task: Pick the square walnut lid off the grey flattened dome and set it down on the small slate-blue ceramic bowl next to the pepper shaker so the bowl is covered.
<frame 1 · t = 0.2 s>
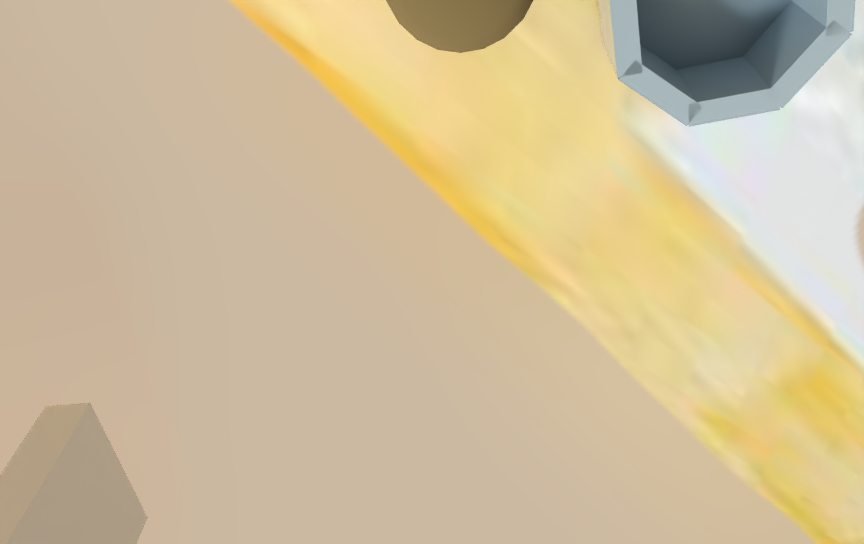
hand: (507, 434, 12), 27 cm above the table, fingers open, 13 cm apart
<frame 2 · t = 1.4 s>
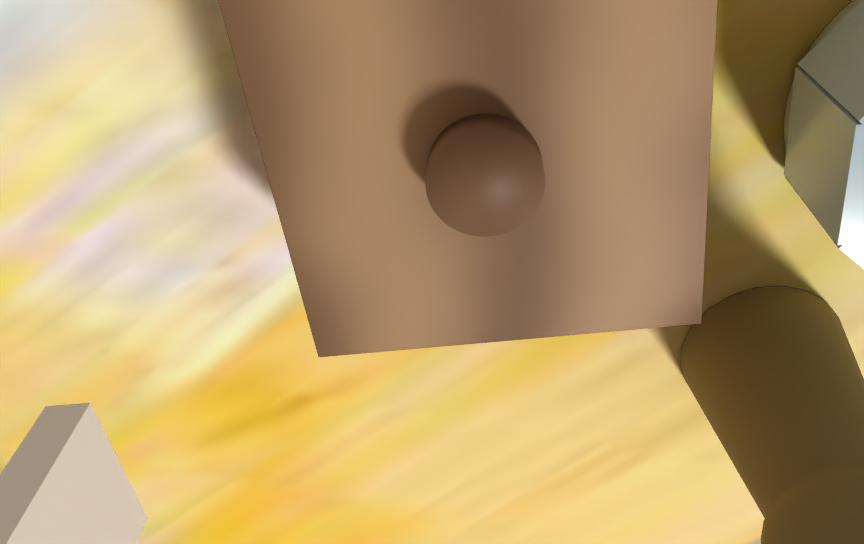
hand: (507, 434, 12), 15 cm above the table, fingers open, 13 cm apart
pepper shaker: (758, 347, 31), on the table
lid: (483, 130, 23), point 3 cm above the table, touching grey flattened dome
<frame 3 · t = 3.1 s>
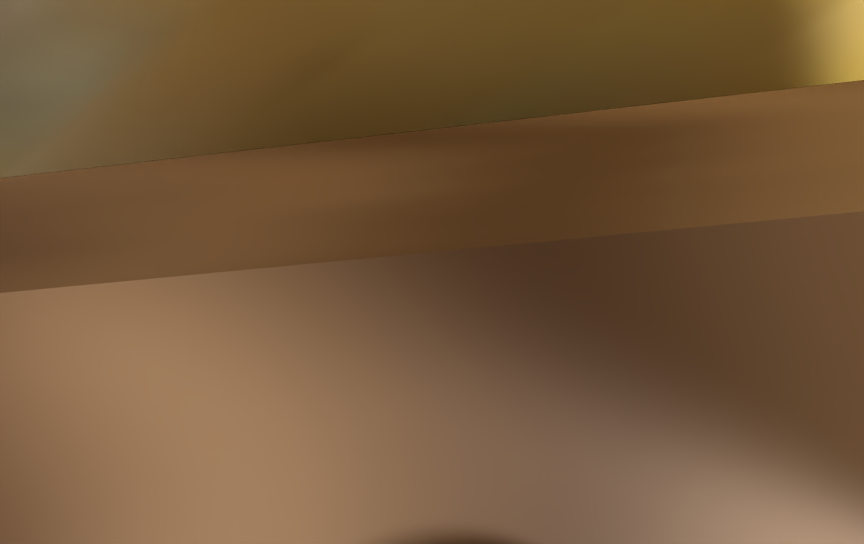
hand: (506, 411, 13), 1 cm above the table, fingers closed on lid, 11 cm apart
lid: (510, 497, 11), point 3 cm above the table, touching gripper, grey flattened dome
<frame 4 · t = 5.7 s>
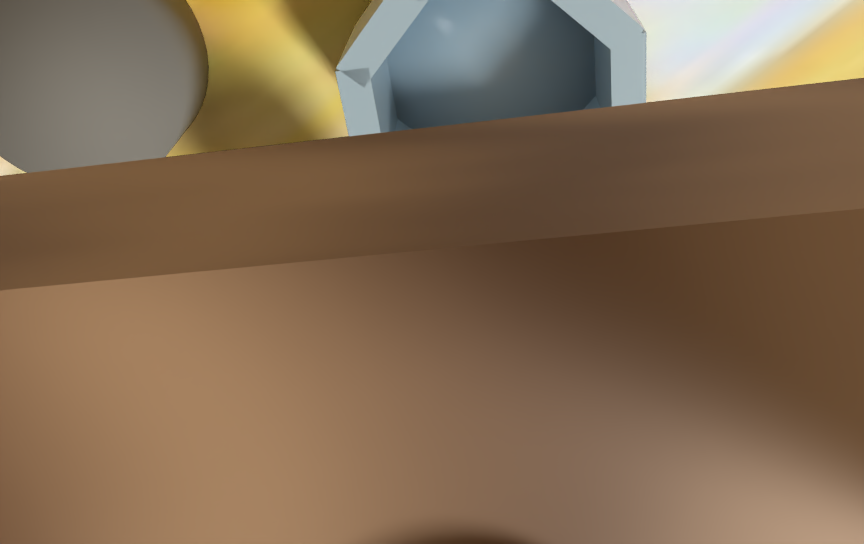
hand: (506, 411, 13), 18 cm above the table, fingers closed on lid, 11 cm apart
bowl: (490, 58, 28), on the table
grey flattened dome: (97, 52, 29), on the table
lid: (510, 496, 11), point 20 cm above the table, touching gripper
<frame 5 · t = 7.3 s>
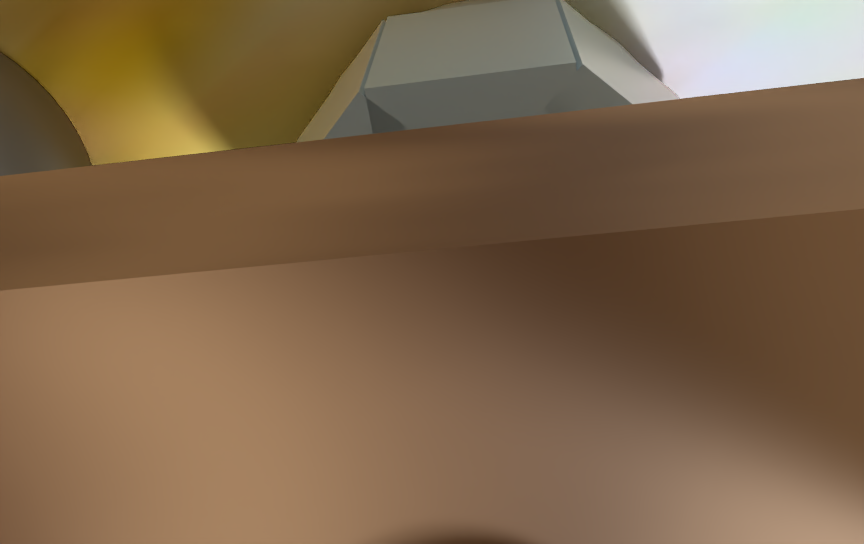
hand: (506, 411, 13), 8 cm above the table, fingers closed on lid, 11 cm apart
bowl: (490, 181, 20), on the table
lid: (510, 496, 11), point 10 cm above the table, touching gripper
when the fingers open (5 cm above the table, at t = 8.6 s): lid drops 2 cm, resting on bowl.
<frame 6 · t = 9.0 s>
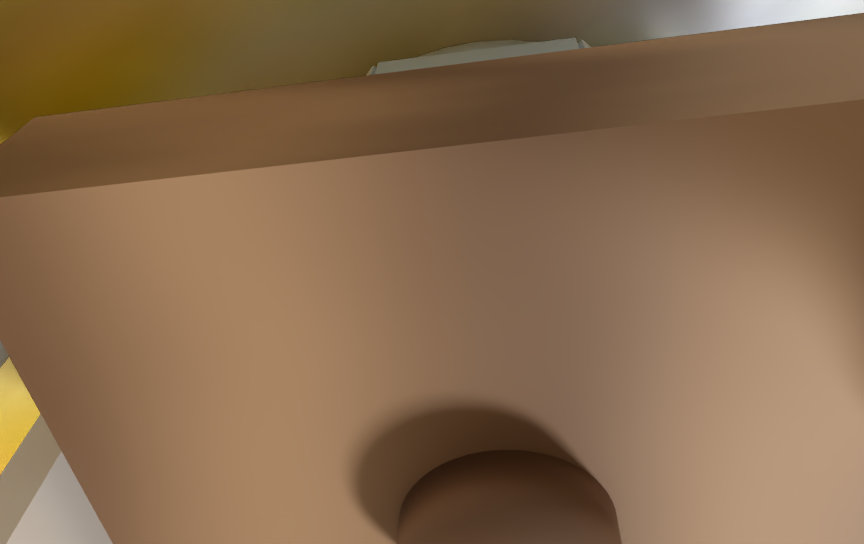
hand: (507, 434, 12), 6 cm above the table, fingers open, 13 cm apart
bowl: (498, 246, 17), on the table
lid: (502, 403, 13), point 5 cm above the table, touching bowl
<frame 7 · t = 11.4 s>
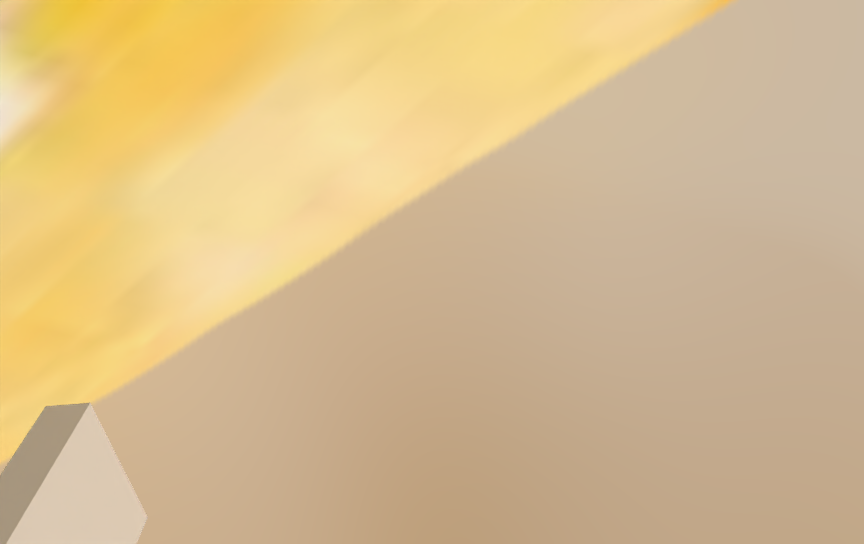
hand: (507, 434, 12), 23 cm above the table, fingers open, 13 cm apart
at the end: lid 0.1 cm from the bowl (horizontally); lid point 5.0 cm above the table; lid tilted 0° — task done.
